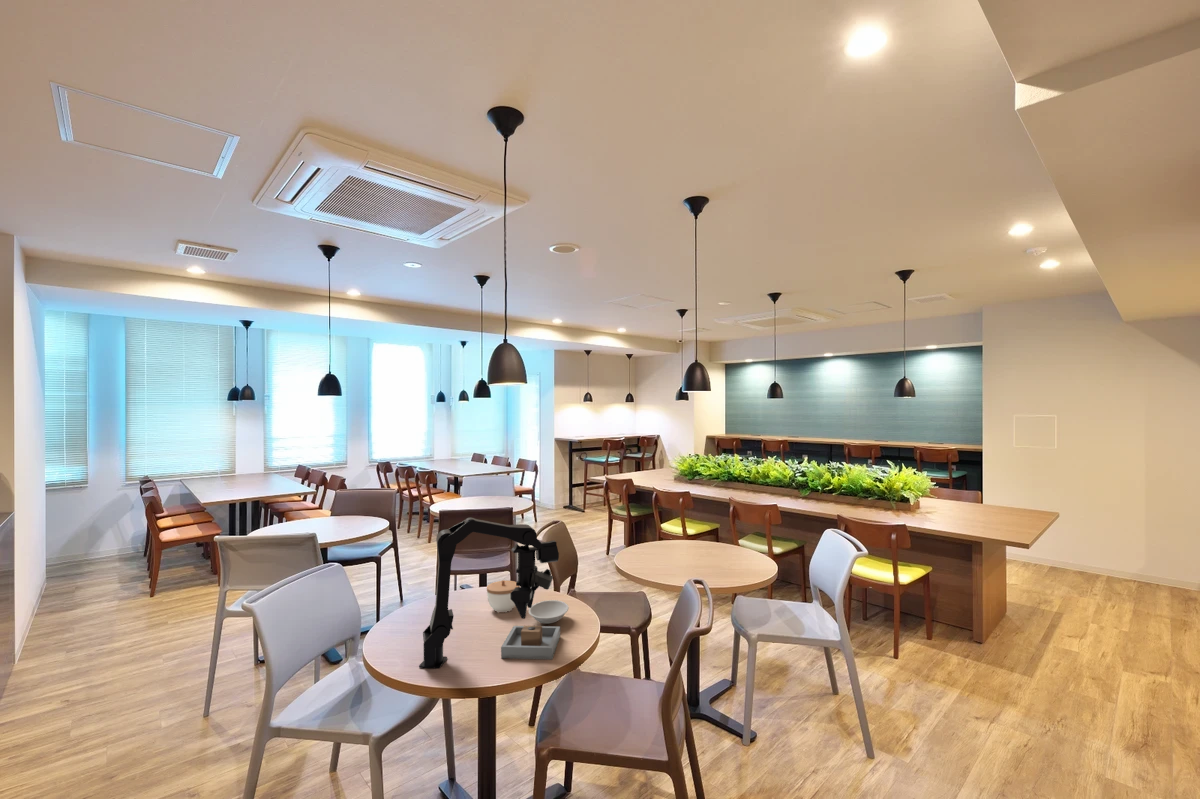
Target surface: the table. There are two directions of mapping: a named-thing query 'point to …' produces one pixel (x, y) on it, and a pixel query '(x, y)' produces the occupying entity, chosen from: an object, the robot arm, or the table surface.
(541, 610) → the dish
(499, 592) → the lidded bowl
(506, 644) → the tray
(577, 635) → the table surface
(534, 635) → the walnut block
